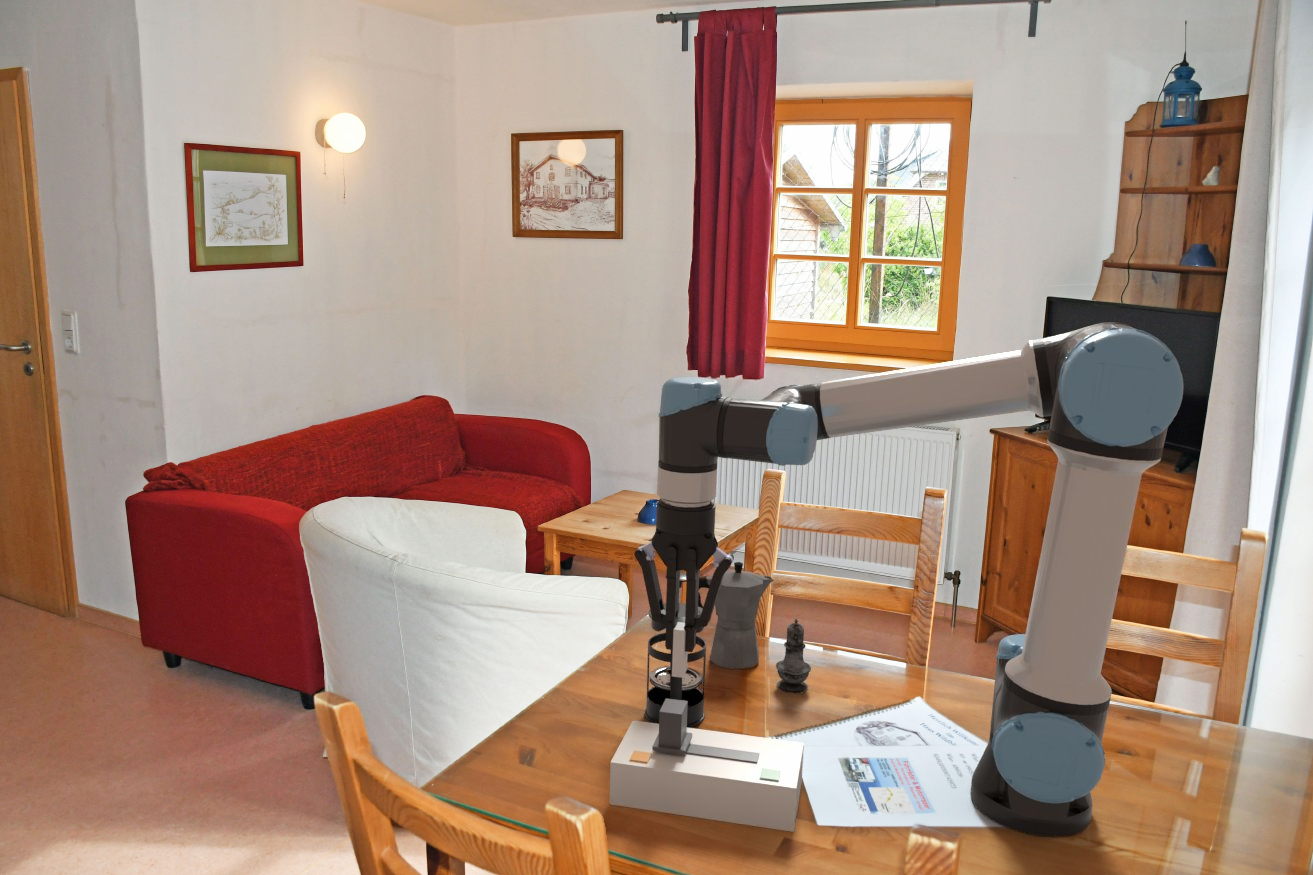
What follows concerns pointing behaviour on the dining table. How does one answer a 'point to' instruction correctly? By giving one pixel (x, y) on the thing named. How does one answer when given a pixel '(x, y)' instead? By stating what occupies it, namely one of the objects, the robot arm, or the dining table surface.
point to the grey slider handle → (673, 728)
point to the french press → (675, 685)
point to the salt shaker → (793, 662)
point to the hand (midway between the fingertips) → (679, 672)
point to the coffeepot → (736, 617)
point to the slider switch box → (710, 777)
